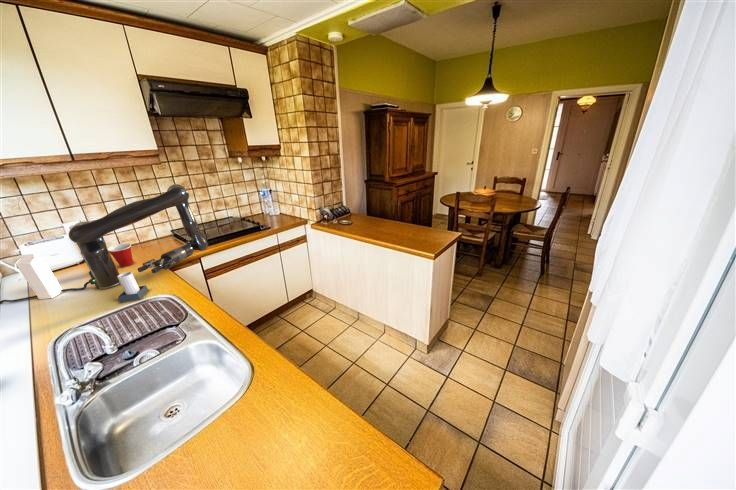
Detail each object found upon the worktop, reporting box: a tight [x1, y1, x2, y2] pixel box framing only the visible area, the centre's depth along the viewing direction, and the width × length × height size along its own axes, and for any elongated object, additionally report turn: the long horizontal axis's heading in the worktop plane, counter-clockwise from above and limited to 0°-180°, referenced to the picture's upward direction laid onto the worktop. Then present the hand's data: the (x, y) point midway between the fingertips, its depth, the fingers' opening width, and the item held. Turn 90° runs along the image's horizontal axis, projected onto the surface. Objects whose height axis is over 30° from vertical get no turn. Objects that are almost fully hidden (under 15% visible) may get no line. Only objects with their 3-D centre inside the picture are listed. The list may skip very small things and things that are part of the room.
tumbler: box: [117, 271, 140, 295], centre depth 122 cm, size 5×5×11 cm
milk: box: [16, 253, 63, 300], centre depth 125 cm, size 6×6×22 cm
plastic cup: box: [107, 242, 134, 268], centre depth 155 cm, size 11×11×12 cm
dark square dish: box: [117, 284, 149, 303], centre depth 124 cm, size 8×8×3 cm
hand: (145, 271), depth 129 cm, fingers open, 8 cm apart
